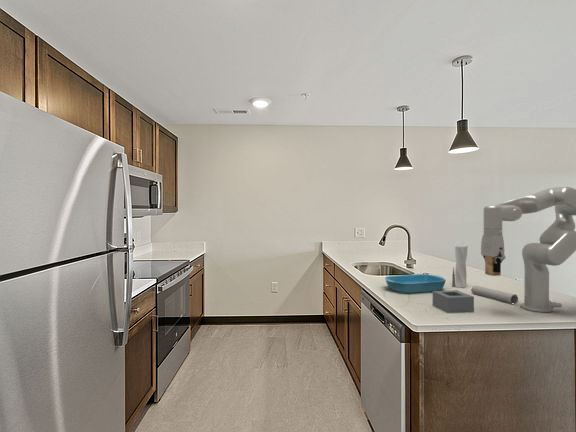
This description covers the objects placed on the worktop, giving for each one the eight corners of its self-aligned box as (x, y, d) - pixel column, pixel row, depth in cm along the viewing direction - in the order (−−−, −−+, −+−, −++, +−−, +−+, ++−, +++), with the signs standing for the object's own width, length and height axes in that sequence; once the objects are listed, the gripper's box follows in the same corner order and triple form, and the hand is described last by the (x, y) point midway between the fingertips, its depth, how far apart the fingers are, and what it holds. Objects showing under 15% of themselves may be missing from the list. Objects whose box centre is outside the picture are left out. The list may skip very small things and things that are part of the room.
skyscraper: (454, 284, 216) (454, 241, 215) (468, 286, 211) (468, 242, 211) (451, 287, 209) (451, 242, 209) (466, 289, 204) (466, 243, 204)
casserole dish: (398, 296, 188) (398, 283, 188) (378, 287, 210) (378, 276, 210) (453, 291, 197) (453, 279, 197) (429, 284, 219) (429, 273, 219)
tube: (468, 287, 192) (509, 296, 169) (474, 283, 194) (516, 292, 170) (470, 295, 193) (512, 306, 169) (477, 291, 194) (519, 302, 171)
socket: (456, 304, 170) (456, 290, 170) (473, 311, 157) (473, 296, 157) (432, 305, 169) (432, 291, 169) (447, 312, 156) (447, 297, 156)
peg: (493, 273, 160) (493, 252, 159) (500, 275, 155) (500, 253, 155) (485, 274, 159) (485, 253, 159) (491, 275, 155) (491, 254, 155)
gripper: (473, 231, 165) (473, 268, 165) (498, 233, 148) (498, 274, 148) (487, 231, 166) (487, 268, 166) (514, 233, 149) (514, 274, 149)
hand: (492, 270), depth 157 cm, fingers closed on peg, 4 cm apart
